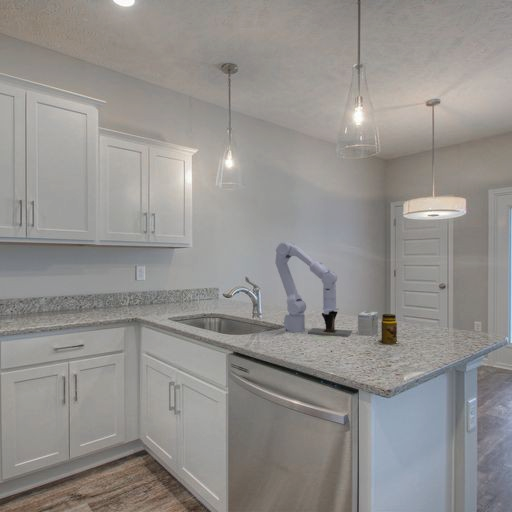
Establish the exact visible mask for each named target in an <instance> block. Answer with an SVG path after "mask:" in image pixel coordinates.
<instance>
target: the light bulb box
mask: <svg viewBox="0 0 512 512" xmlns="http://www.w3.org/2000/svg"><path fill="white" fill-rule="evenodd" d="M378 320H379V312H378V311H362V312H359V313H358V314H357V334H358V335H361V336H371V337H372V336H375V337H377V336H378V335H379V321H378Z"/></svg>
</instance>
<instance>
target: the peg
mask: <svg viewBox="0 0 512 512" xmlns="http://www.w3.org/2000/svg"><path fill="white" fill-rule="evenodd" d="M335 321H336V319H335V320H334V317H333V321H332V328H331V329H326V328H325V329H326V331H335V329H336V328H335Z"/></svg>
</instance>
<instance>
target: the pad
mask: <svg viewBox="0 0 512 512" xmlns="http://www.w3.org/2000/svg"><path fill="white" fill-rule="evenodd" d="M337 338H338V337H335V336H321V335H317V336H316V335H314V336H312V338H310V340H315V341H328V342H329V341H330V342H335V341H336V340H337Z"/></svg>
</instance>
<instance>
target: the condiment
mask: <svg viewBox="0 0 512 512" xmlns="http://www.w3.org/2000/svg"><path fill="white" fill-rule="evenodd" d="M381 316H382V320H381V339H378V340H377V341H376V342H375V344H377V345H378V344H380V345H386V346H396V345H395V344H397V343H398V344H399V343H400V342H399V341H398V338H397V337H398V336H397V335H398V333H397V331H398V330H397V329H398V327H397V325H398V324H397V319H396V318H397V317H396V314H393V313H385V314H382V315H381ZM396 342H397V343H396ZM398 344H397V345H398Z"/></svg>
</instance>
